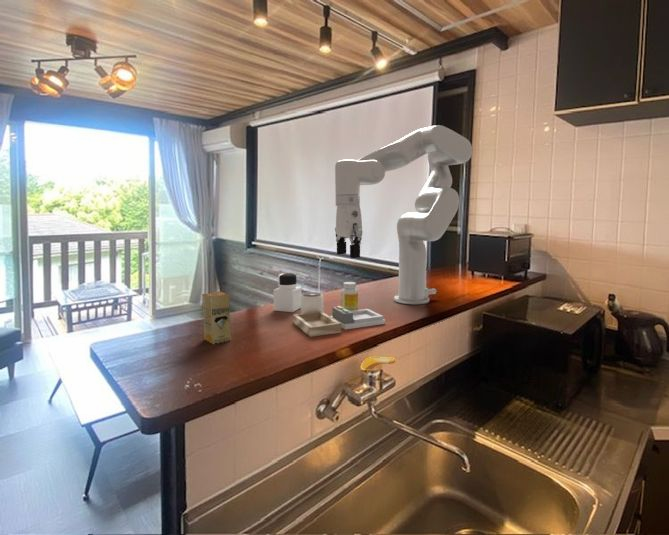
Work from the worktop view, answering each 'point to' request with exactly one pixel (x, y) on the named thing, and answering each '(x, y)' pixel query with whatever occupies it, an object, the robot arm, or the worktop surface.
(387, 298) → the worktop surface
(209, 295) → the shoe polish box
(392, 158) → the robot arm
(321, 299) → the cup
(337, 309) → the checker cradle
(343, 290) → the supplement bottle
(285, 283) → the medicine bottle
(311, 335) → the trough
